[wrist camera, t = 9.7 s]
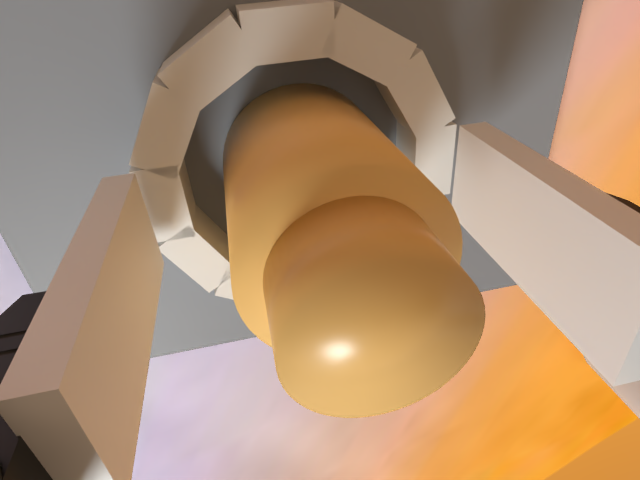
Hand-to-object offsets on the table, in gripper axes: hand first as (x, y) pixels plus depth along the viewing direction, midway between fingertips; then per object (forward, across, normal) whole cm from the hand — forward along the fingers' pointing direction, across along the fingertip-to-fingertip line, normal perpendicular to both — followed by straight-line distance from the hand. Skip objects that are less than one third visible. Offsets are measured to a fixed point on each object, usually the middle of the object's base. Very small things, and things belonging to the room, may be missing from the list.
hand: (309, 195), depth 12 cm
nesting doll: (+2, 0, 0) cm, 2 cm away
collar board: (+4, 0, 0) cm, 4 cm away
